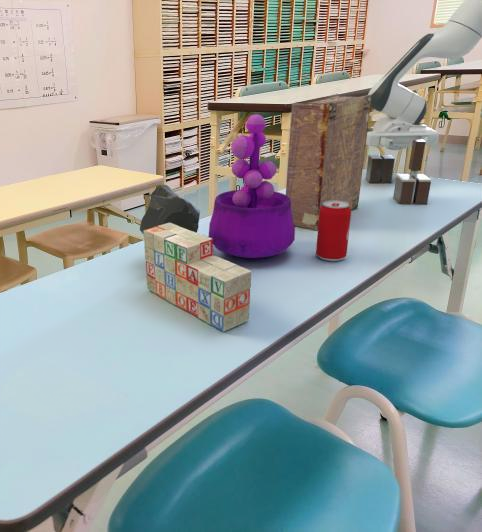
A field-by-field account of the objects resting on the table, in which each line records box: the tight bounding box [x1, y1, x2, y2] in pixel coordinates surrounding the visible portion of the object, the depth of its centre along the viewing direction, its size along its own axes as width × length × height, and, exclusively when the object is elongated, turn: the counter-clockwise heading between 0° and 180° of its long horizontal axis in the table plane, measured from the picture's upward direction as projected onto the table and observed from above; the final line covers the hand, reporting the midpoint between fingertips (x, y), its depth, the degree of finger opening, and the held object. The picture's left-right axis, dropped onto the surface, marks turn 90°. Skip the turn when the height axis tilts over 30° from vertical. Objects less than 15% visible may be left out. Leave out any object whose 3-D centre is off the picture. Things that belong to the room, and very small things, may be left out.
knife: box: [408, 140, 426, 204], centre depth 145 cm, size 2×5×17 cm, turn 169°
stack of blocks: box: [143, 223, 252, 333], centre depth 91 cm, size 21×6×12 cm, turn 35°
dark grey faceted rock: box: [139, 184, 201, 236], centre depth 107 cm, size 14×15×18 cm
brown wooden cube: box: [392, 173, 432, 205], centre depth 147 cm, size 7×7×7 cm
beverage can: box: [315, 200, 352, 262], centre depth 110 cm, size 6×6×12 cm
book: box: [285, 93, 372, 231], centre depth 134 cm, size 25×9×30 cm, turn 137°
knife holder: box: [365, 154, 396, 184], centre depth 169 cm, size 7×6×8 cm
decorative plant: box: [208, 114, 296, 259], centre depth 111 cm, size 19×18×30 cm
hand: (407, 142), depth 153 cm, fingers open, 8 cm apart
